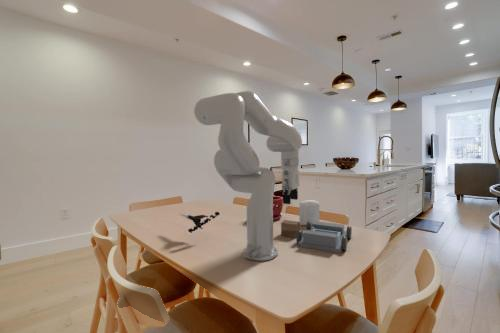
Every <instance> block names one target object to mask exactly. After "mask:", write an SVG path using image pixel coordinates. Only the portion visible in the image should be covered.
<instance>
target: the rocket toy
mask: <svg viewBox="0 0 500 333" xmlns="http://www.w3.org/2000/svg"><path fill="white" fill-rule="evenodd" d="M220 214H221V213H220V212H219V211H215V212H214V214H211V215H209V216H208V215H205V214H200V215H199V214H198V215H190V214H187V213H183V212H182V213H179V214H178V215H180V216H182V217H184V218H185V219H188V220H190V221H191V222H193V223H194V225H195V226H194V227H191V228H189V229H188V230H187V231H188V232H189V233H191V234H192V233H193V232H195V231H196V230H198V229H201V230H203V227H202V226H204V225H206V224H208V223H209V222H210V221H212V220H213V219H215V218H216V217H218V216H220ZM203 218H205V219H204V220H203V221H202V220H201V219H203Z"/></svg>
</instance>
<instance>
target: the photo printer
mask: <svg viewBox="0 0 500 333" xmlns="http://www.w3.org/2000/svg"><path fill="white" fill-rule="evenodd" d="M319 202H320V201H317V200H314V199H309V200H308V199H305V200H302V201H300V202H299V209H298V210H299V219H298V220H299V221H298V222H300V226H306V225H307V222H308V221H309V222H312V226H314V224H315V223H316V222H317V221H319V222H320V203H319Z"/></svg>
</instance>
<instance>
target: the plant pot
mask: <svg viewBox="0 0 500 333" xmlns="http://www.w3.org/2000/svg"><path fill="white" fill-rule="evenodd" d="M283 206H284V204H283V196H275V195H273V221H278V220H281V218H282V217H283V216H282V214H281V213H282V212H283Z"/></svg>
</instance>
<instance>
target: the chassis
mask: <svg viewBox="0 0 500 333" xmlns="http://www.w3.org/2000/svg"><path fill="white" fill-rule="evenodd" d="M305 227H306V228H305V231H303V230H298V231H297V235H296V238H295V240H296V243H297V244H298V247H300V248H306V249H313V250H318V251H324V252H329V253H336V254H341V253H342V252H343V251H347V248H348V239H352V228H353V227H352V226H350V225H349V226H346V230H345V224H343V223H342V224H341V223H335V222H326V221H325V222H324V221H320V220H319V221H317V222H316V223H315V224H314V225H312V222H309V221H308V222H307V225H305Z"/></svg>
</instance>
